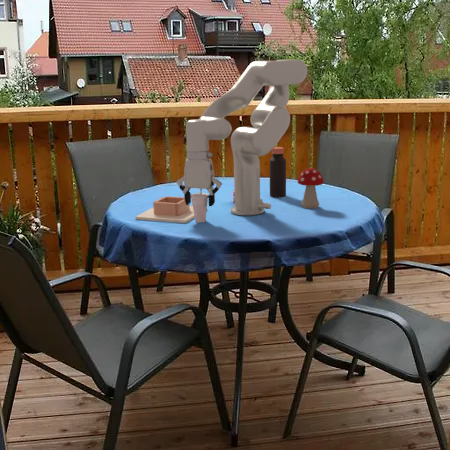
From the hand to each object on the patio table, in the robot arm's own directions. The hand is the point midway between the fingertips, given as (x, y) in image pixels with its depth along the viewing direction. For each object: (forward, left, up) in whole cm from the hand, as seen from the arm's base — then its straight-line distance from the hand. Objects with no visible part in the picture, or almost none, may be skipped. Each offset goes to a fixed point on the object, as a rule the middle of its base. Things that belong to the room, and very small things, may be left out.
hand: (199, 204), depth 212 cm
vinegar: (-16, -45, -6) cm, 48 cm away
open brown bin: (+14, -6, -6) cm, 16 cm away
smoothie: (0, 0, -6) cm, 6 cm away
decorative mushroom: (-33, -30, -6) cm, 45 cm away
